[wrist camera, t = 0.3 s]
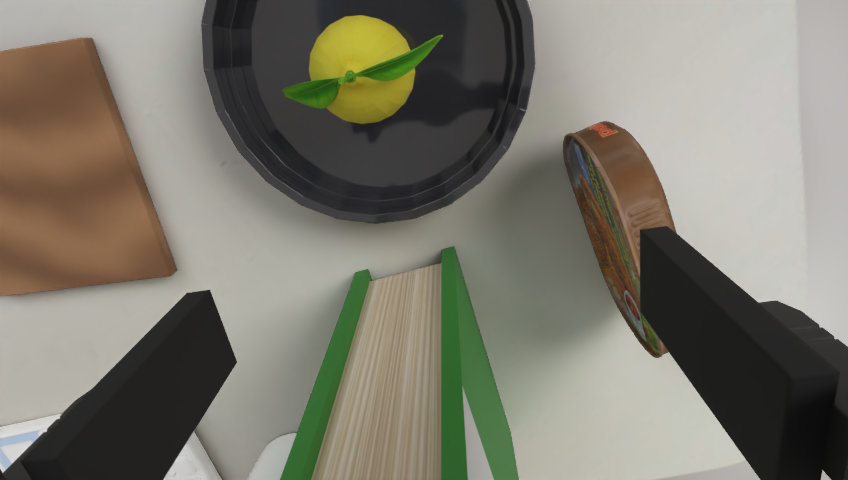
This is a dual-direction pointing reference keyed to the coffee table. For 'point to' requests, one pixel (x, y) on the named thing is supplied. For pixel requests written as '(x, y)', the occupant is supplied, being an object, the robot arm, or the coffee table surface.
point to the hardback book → (405, 387)
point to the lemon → (360, 70)
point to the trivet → (70, 177)
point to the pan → (389, 138)
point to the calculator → (3, 445)
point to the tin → (618, 212)
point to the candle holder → (273, 459)
